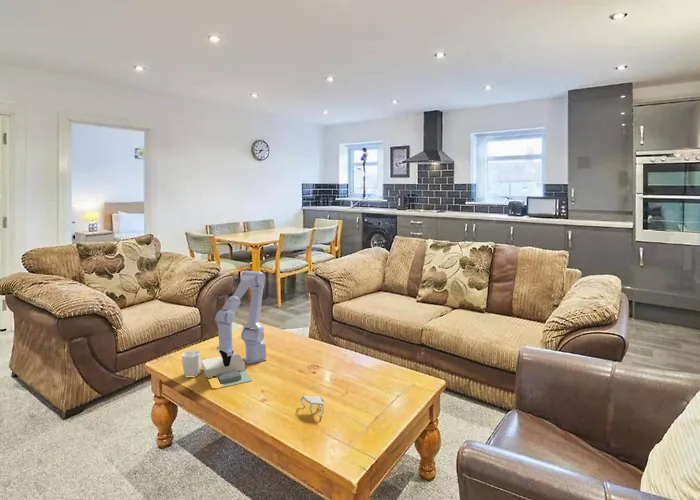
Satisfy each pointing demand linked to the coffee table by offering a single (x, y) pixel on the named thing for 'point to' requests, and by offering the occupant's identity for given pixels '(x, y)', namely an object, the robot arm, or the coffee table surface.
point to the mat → (244, 378)
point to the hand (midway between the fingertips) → (226, 365)
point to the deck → (222, 365)
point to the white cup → (191, 363)
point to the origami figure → (314, 402)
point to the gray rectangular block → (229, 377)
